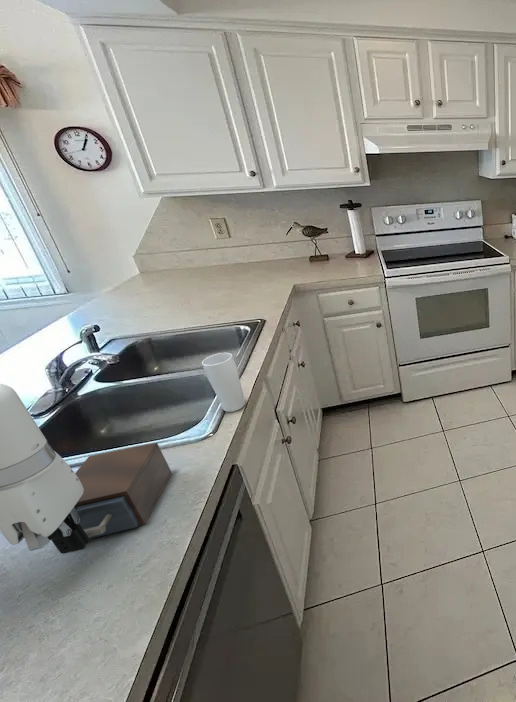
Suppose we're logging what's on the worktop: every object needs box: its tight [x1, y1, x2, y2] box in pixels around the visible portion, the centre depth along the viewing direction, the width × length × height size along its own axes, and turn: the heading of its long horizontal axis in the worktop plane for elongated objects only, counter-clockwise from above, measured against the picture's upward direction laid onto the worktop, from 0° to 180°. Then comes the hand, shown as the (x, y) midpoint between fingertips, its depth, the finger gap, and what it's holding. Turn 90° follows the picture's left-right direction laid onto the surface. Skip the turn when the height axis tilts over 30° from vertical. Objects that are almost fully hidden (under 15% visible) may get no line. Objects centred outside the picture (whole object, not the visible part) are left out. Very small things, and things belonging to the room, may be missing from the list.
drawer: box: [77, 495, 139, 540], centre depth 77 cm, size 16×10×7 cm, turn 18°
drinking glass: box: [201, 352, 246, 413], centre depth 107 cm, size 7×7×15 cm
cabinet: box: [74, 442, 173, 527], centre depth 80 cm, size 14×12×9 cm
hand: (76, 547), depth 68 cm, fingers closed
